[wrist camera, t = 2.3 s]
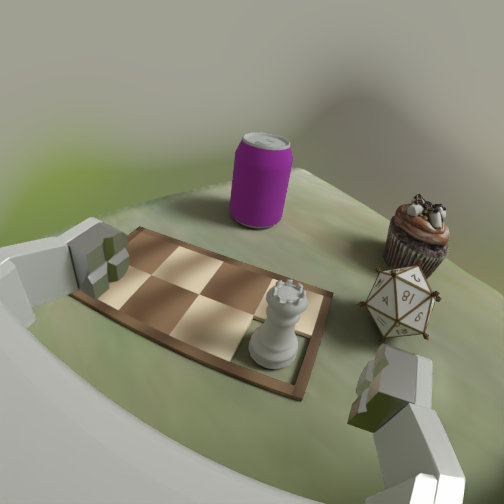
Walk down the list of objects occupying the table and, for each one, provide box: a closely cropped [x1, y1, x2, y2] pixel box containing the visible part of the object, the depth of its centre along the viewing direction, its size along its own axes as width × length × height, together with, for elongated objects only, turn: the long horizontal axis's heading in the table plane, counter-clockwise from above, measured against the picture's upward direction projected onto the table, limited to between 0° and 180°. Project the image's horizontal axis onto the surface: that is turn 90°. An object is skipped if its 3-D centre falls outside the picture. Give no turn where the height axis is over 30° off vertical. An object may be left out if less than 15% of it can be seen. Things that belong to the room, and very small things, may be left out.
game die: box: [357, 258, 442, 345], centre depth 29 cm, size 9×8×10 cm
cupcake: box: [384, 194, 449, 280], centre depth 39 cm, size 10×10×10 cm
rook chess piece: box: [248, 279, 308, 369], centre depth 25 cm, size 4×4×8 cm
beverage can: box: [230, 132, 293, 229], centre depth 42 cm, size 8×8×12 cm
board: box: [69, 226, 333, 401], centre depth 32 cm, size 26×14×1 cm, turn 69°
